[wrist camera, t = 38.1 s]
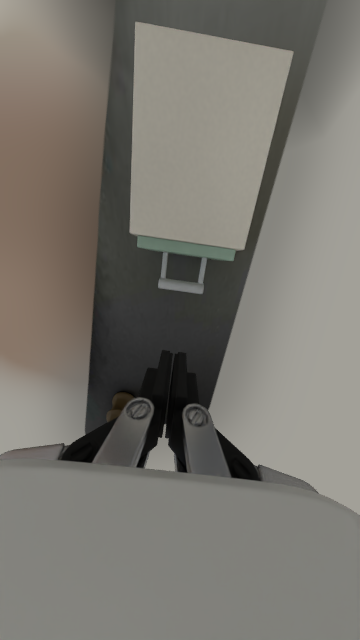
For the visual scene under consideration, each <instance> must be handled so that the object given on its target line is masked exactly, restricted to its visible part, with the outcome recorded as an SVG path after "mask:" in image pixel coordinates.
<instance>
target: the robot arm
mask: <svg viewBox="0 0 360 640" xmlns="http://www.w3.org/2000/svg"><path fill="white" fill-rule="evenodd" d="M172 355H173V353H170V351H166V350H162V353H161V357H160V362H159V366H158V369H155V368H148V369H147V371H146V374H145V378H144V381H143V384H142V387H141V390H140V393H139V396H138V398H134V399H132V400H130V401H129V402H128V403H127V404H126V405H125V407H124V409H123V410H122V412H121V414H120V416H118V417H116V418H115V419H113V420H111V421H109V422H108V423H106V424H104V425H102V426H100V427H99V428H97V429H95V430H93V431H92V432H90V433H88V434H86V435H85V436H83V437H81V438H79V439H78V440H76V441H75V442H73V443H72V444H71V445H67V446H65V445H64V443H62V444H55V445H47V446H39V447H31V448H23V449H16V450H11V451H8V452H5V453H4V454H1V455H0V640H360V515H358V514H357V513H355V512H354V511H352V510H351V509H349V508H347V507H346V506H344V505H342V504H340V503H338V502H336V501H334V500H332V499H330V498H328V497H325V496H323V495H321V494H319V493H318V492H317V491H316V490H315V489H314V488H313V487H312V486H311V485H310V484H308V483H306V482H305V481H303V480H300V479H298V478H295V477H292V476H289V475H286V474H284V473H281V472H279V471H276V470H273V469H270V468H268V467H265V466H262V465H258V467H257V466H255V465H253V463H252V462H251V461H250V460H249V459H248V458H247V457H246V456H245V455H244V454H243V453H242V452H240V451H239V450H238V449H237V448H236V447H235V446H234V445H233V444H232V443H231V442H230V441H228V440H227V439H226V438H225V437H224V436H223V435H222V434H221V433H220V432H219V431H218V430H217V429H215V427H214V424H213V421H212V418H211V416H210V413H209V412H208V410H207V409H206V408H205V407H203V406H202V405H199V399H198V390H197V381H196V374H195V373H187V365H186V353H182V352H178V354H175V357H174V364H173V371H172V378H171V385H170V394H169V404H168V414H167V424H166V434H165V438H169V443H168V445H169V447H170V448H171V450H172V451H173V452H174V453H175V454H174V462H175V472H172V471H163V470H154V469H145V466H146V463H147V460H148V457H149V451H150V450H152V449H153V448H154V447H155V446H156V445H157V441H158V437H160V438H162V434H163V427H164V420H165V413H166V406H167V399H168V391H169V382H170V373H171V364H172Z"/></svg>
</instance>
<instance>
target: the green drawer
mask: <svg viewBox="0 0 360 640" xmlns="http://www.w3.org/2000/svg"><path fill="white" fill-rule="evenodd" d="M137 247H139V248H143V249H147V250H152V251H159V252H163V260H162V271H161V278H159V283H158V288H161V289H168V290H175V291H183V292H190V293H197V294H202V293H203V289H204V284H203V279H204V273H205V267H206V262H207V259H214V260H223V261H233V260H234V256H235V252H236V250H234V249H228V248H221V247H214V246H207V245H201V244H194V243H187V242H180V241H174V240H167V239H160V238H154V237H147V236H140V235H138V240H137ZM168 253H173V254H179V255H186V256H193V257H200V258H202V261H201V267H200V273H199V279H198V283H194V282H187V281H180V280H173V279H166V270H167V261H168Z"/></svg>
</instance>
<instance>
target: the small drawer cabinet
mask: <svg viewBox="0 0 360 640" xmlns="http://www.w3.org/2000/svg"><path fill="white" fill-rule="evenodd" d="M292 57H293V51H289V50H284V49H278V48H273V47H268V46H262V45H257V44H252V43H247V42H241V41H236V40H231V39H225V38H220V37H215V36H209V35H204V34H199V33H194V32H188V31H183V30H178V29H172V28H167V27H162V26H156V25H151V24H146V23H140V22H135V55H134V92H133V130H132V167H131V204H130V233H131V234H133V235H135V236H137V237H138V235H140V236H147V237H154V238H160V239H167V240H174V241H180V242H187V243H194V244H201V245H207V246H214V247H221V248H228V249H234V250H236V251H240V250H244V248H245V244H246V240H247V236H248V232H249V228H250V224H251V220H252V216H253V212H254V208H255V204H256V200H257V196H258V192H259V188H260V184H261V180H262V176H263V172H264V168H265V164H266V160H267V156H268V152H269V148H270V144H271V140H272V136H273V132H274V128H275V125H276V121H277V117H278V113H279V109H280V105H281V101H282V97H283V93H284V89H285V85H286V81H287V77H288V73H289V69H290V65H291V61H292Z"/></svg>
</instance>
